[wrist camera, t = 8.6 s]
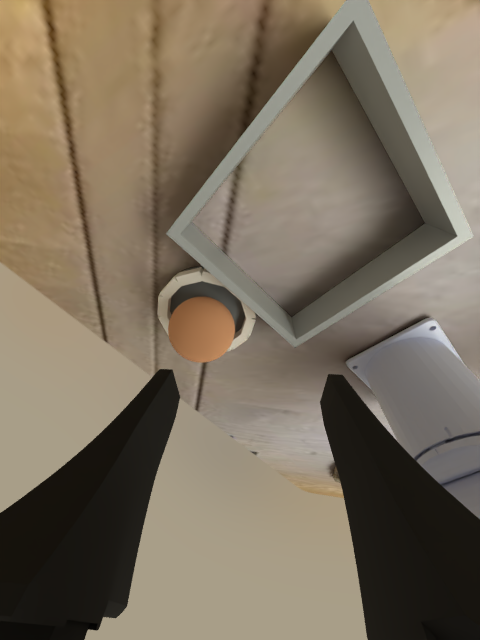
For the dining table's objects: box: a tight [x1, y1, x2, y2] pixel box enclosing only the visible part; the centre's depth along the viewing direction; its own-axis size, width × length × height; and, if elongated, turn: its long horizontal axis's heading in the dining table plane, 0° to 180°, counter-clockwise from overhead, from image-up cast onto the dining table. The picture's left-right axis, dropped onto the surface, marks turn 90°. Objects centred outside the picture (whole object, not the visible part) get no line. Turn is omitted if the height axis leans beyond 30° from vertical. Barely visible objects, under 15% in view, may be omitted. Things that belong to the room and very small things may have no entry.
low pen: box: [166, 0, 474, 348], centre depth 14 cm, size 12×12×3 cm
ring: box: [157, 266, 256, 351], centre depth 20 cm, size 8×8×1 cm
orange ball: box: [168, 297, 235, 362], centre depth 18 cm, size 5×5×5 cm
